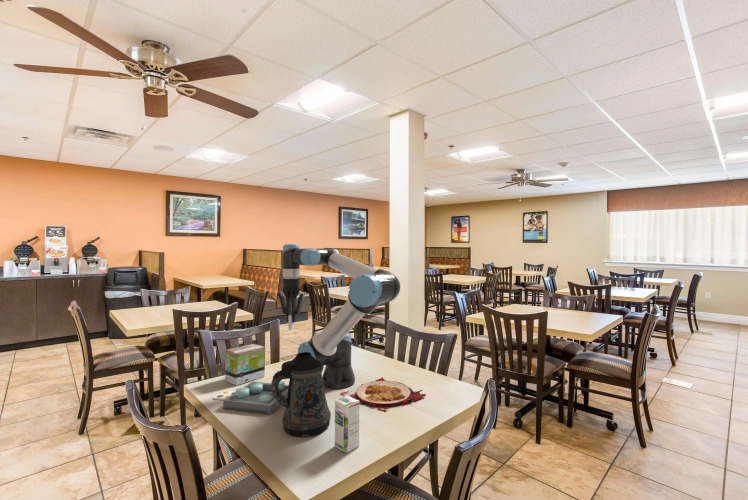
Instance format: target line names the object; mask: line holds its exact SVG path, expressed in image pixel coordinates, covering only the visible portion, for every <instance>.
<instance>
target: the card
mask: <svg viewBox="0 0 748 500" xmlns="http://www.w3.org/2000/svg"><path fill="white" fill-rule="evenodd" d="M235 392H236V390H228V389H226V390H223V391H222V392H220V393H218V394H217V395H215V396H213V397H212V400H217V401H218V400H219V401H223V400H225V399H226V398H228V397H229V396H231V395H232V394H234V393H235Z"/></svg>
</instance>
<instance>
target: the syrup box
mask: <svg viewBox="0 0 748 500" xmlns="http://www.w3.org/2000/svg"><path fill="white" fill-rule="evenodd" d="M333 443H334V444H333V445H334V448H336V449H338V450H340V451H341V452H343V453H344V454H347V453H350V452H352V451H353V450H355V449H357V448H359V447H360V403H359V400H356V399H354V398H352V397H350V396H349V395H345V396H342V397H339V398H337V399H334V442H333Z"/></svg>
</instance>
